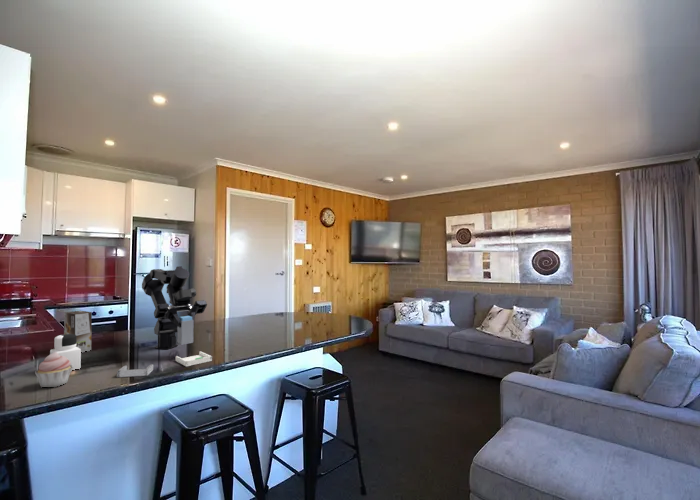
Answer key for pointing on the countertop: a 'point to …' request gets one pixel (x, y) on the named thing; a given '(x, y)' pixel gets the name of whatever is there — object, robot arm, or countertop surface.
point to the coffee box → (79, 328)
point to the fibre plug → (185, 330)
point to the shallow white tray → (134, 371)
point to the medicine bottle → (68, 349)
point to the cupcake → (54, 370)
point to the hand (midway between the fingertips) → (186, 326)
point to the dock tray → (194, 359)
